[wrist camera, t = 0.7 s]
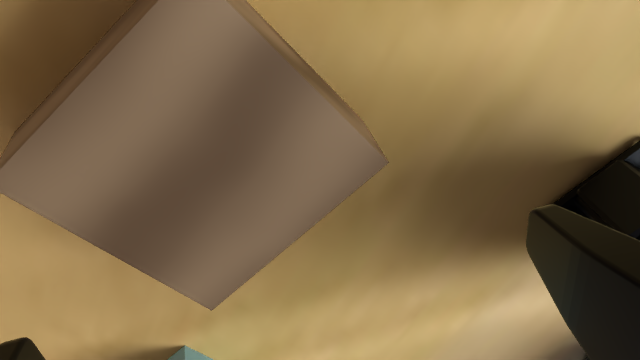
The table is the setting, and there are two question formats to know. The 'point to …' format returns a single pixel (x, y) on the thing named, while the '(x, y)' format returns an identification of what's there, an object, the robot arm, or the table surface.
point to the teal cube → (188, 355)
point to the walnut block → (190, 146)
